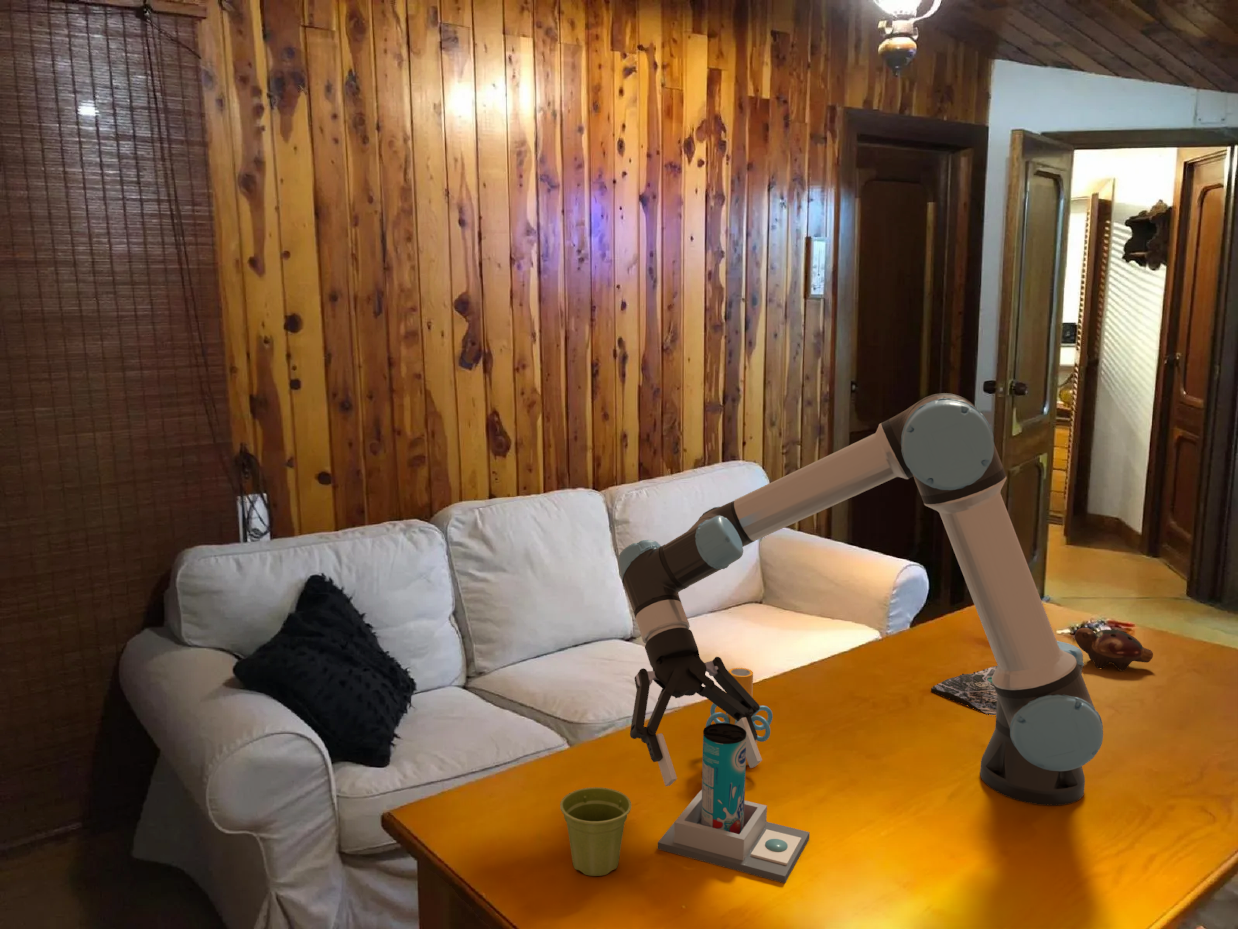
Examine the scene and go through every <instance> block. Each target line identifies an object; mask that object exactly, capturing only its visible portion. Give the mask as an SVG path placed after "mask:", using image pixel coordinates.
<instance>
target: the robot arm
mask: <svg viewBox="0 0 1238 929" xmlns="http://www.w3.org/2000/svg"><path fill="white" fill-rule="evenodd" d="M994 439H995V438H994V434H993V430H992V428H991V426H990V423H989V422H988V420H987V418H986V417H985V415H984V414H983V413H981V411H980V410H979V409H978V408H977V407H976V406H975V405H974V403H972V402H971V401H969V399H967V398H965V397H962V396H960V395H957V394H955V393H954V394H953V393H947V392H946V393H945V392H943V393H935V394H930V395H928V396H926V397H924V398H922V399H920V400H918V401H917V402H916V403H914V404H913V405H911V406H909V407H908V408H907V409H905V410H904V411H901V412H900V413H897V414H896V415H895V416H893V417H891V418H888V419H887V420H885V421H883V422H881V423H879V424H878V427H877V428H876V431H875V433H872V434H870V435H868V436H866V437H864V438H862V439H860V440H858V441H856V442H854V443H851V444H850V445H847V446H845V447H843V448H841V449H839V450H837V451H834V452H833V453H830V454H828V455H827V456H823V457H822V458H819V459H818V460H815V461H813V462H811V463H810V464H807V465H805V466H803V467H801V468H799V469H797V470H794V471H792V472H790V473H788V474H787V475H784V476H782V477H780V478H778V479H776V480H773V481H772V482H769V483H767V484H765V485H763V486H761V487H759V488H757V489H754V490H753V491H750V492H748V493H747V494H745V495H744V494H743V495H742V496H740V497H738V498H735V499H734V500H732V501H730V502H727V503H726V504H722V505H721V506H714V507H712V508H709V509H708V510H707V511H704V512H703V514H702V515H701V516H700V517H699V518H698V520H696V522H695V523H694V524H693V525H692V526H691V527H689V529H688V530H687V531H686V532H684V533H682V534H680V535H679V536H677V537H676V538H674V539H673V540H670V541H669V542H667V543H666V544H663V545H661V544H660V543H659V542H658V541H656V540H652V539H644V540H640V541H639V542H635V543H634V542H633V543H632V544H629V545H627V546H626V547H625V548H624V549H622V551H620V553H619V555H618V558H617V564H618V568H619V571H620V577H621V583H622V585H623V587H624V589H625V593H626V596H627V597H628V600H629V603H630V606H631V609H632V613H633V615H634V619H635V622H636V624H637V628H638V631H639V634H640V638H641V640H642V642H643V643H644V644H645V645H644V649H645V652H646V655H647V658H648V662H649V665H650V667H651V668H652V670H649V671H648V670H647V669H646V668H644V667H643V668H641V669H640V670H639V671H638V672H637V674H636V675H635V676H634V684H635V688H636V694H635V700H634V706H633V712H632V718H631V725H630V730H629V731H630V733H629V736H630V738H631V739H633V740H636V739H640V740H641V742H642V743H643V744H646V747H647V750H648V753H649V757H650V760H651V761H652V762H653V763H658V767H659V770H660V774H661V777H662V780H663V783H664V785H665V787H668V786H669V787H670V786H672V784H673V783H675V781H676V780H677V779H678V777H677V774H676V771H675V768H674V765H673V761H672V758H671V756H670V753H669V749H668V746H667V743H666V740H665V737H664V735H663V733H657V732H658V729H659V726H660V725H661V722H662V719H663V717H664V714H665V712H666V710H667V707H668V705H669V703H670V700H671V697H674V698H675V699H680V698H682V697H683V696H687V697H690V696H695V695H696V694H697V695H699V696H700V697H702V698H706V699H707V700H709V701H710V702H711V703H712V704H713V703H714V704H715V705H717V707H718V708H720V709H721V710H722V711H723V712H725V714H726V713H727V714H729V715H730V716H731V717H733V718H734V719H736V720H737V721H738V722H737V723H736V724H735V725H737V726H740V727H742V728H743V729H744V730H745V731H746V758H747V761H748V764H749V765H748V766H749V768H750V769H752V768H755V767H756V766H757V765H759V764H760V763H761V762H762V761H763V758H762V756H761V754H760V750H759V748H758V744H757V745H756V742H755V740H756V739H757V735H758V732H757V730H755V727H754V724H753V722H752V719H751V717H752V716H753V715H754V714H755V713H756V712H757V711H758V710H759V709H760V706H761V705H760V704H759V703H758V702H757V701H756V700H755V698H753V696H752V697H751V696H750V694H749V693H748V692H747V691H746V690H745V689H744V688H743V687H742V686H741V685H740V684H739V683H738V681H737V680H736V679H735V678H734V677H733V676H732V675H731V674H730V673H729V672H728V671H729V670H728V669H727V668H726V666H725V663H724V662H723V659H722V658H721V657H720V656H715V657H714V658H713V660H709V661H706V662H704V661H703V660H702V659H701V657H700V652H699V647H698V646H697V642H696V640H695V636H694V634H693V631H692V630H691V629H690V627H691V626H690V622H689V620H688V617H687V614H686V612H685V610H684V609H685V608H684V606H683V604H682V600H681V598H680V595H679V592H681V591H683V590H686V589H688V588H689V587H691V586H692V585H694V584H696V583H698V582H700V581H702V580H704V579H705V578H708V577H709V576H712V575H713V574H716V573H717V572H719V571H721V570H725V569H727V568H728V567H729V566H730V565H732V564H733V563H735V562H736V561H738V560H740V559H741V558H742V556H743V554H744V547H746V546H748V545H750V544H752V543H753V542H756V541H758V540H760V539H762V538H764V537H767V536H769V535H771V534H773V533H775V532H778V531H780V530H783V529H784V528H787V527H788V526H791V525H793V524H795V523H798V522H800V521H802V520H804V519H806V518H808V517H812V516H814V515H815V514H818V513H820V512H822V511H824V510H826V509H829V508H831V507H833V506H835V505H837V504H840V503H842V502H845V501H846V500H848V499H850V498H853V497H856V496H858V495H860V494H862V493H864V492H866V491H869V490H871V489H873V488H875V487H877V486H880V485H881V484H884V483H886V482H888V481H892V480H893V479H896V478H902V479H904V480H909V479H910V478H913V479H914V482H915V485H916V486H917V489H918V492H919V494H920V497H921V500H922V501H923V505H924V506H925V507H928V508H930V509H932V510H934V511H936V512H938V513H939V516H940V518H941V520H942V523H943V526H944V529H945V531H946V534H947V537H948V539H949V542H950V544H951V548H952V549H953V553H954V554H955V558H956V560H957V563H958V565H959V567H960V571H961V573H962V575H963V578H964V581H965V584H966V586H967V589H968V592H969V594H970V597H971V599H972V602H973V604H974V606H975V609H976V612H977V616H978V617H979V620H980V624H981V625H982V628H983V630H984V634H985V635H986V638H987V641H988V644H989V646H990V649H991V652H992V654H993V657H994V660H995V662H996V664H997V665H996V666H998V667H997V669H996V670H995V672H994V674H993V676H992V682H993V685H994V688H995V690H996V693H997V696H998V698H997V711H996V717H995V726H994V727H995V728H994V731H993V732H992V735H991V737H990V739H989V742H988V744H987V746H986V748H985V750H984V752H983V754H982V757H981V760H980V771H979V775H980V778H981V780H982V781H983V782H984V783H985V784H986V785H987V786H988V787H989V788H990V789H992V790H994V791H995V792H997V793H999V794H1001V795H1003V796H1005V797H1008V798H1011V799H1014V800H1016V801H1020V802H1022V803H1023V802H1024V803H1028V804H1034V805H1039V806H1040V805H1041V806H1062V805H1063V806H1065V805H1069V804H1074V803H1076V802H1077V801H1079V800H1081V799H1082V798H1083V797H1084V793H1085V785H1086V780H1085V778H1086V777H1085V773H1084V769H1083V766H1084V765H1086V764H1088V763H1089V762H1090V761H1091V760H1093V759H1094V758H1095V756H1096V755H1097V754H1098V752H1099V750H1100V749H1101V747H1102V744H1103V740H1104V725H1103V720H1102V717H1101V715H1100V713H1099V711H1097V710H1096V708H1095V706H1094V703H1093V701H1092V698H1091V695H1090V692H1089V690H1088V687H1087V684H1086V683H1085V680H1084V677H1083V675H1082V673H1083V667H1084V665H1085V662H1084V654H1083V652H1082V651H1083V650H1082V649H1081V648H1080V647H1079V646H1078V647H1077V646H1076V645H1074V644H1071V643H1068V642H1063V641H1060V640H1057V639H1056V635H1055V633H1054V631H1053V627H1052V626H1051V622H1050V620H1049V617H1048V614H1047V612H1046V610H1045V607H1044V604H1043V602H1042V599H1041V597H1040V594H1039V590H1038V588H1037V585H1036V583H1035V580H1034V578H1033V575H1032V572H1031V570H1030V568H1029V564H1028V562H1027V559H1026V557H1025V554H1024V551H1023V549H1022V546H1021V544H1020V541H1019V538H1018V535H1017V534H1016V530H1015V527H1014V525H1013V523H1012V520H1011V518H1010V514H1009V512H1008V510H1007V507H1006V505H1005V502H1004V499H1003V497H1002V496H1003V495H1002V494H1001V490H1002V488H1003V487H1004V485H1005V483H1006V480H1007V479H1008V478H1007V475H1006V472H1005V468H1004V467H1003V464H1002V460H1001V459H1000V458H1001V457H1000V456H999V453H998V450H997V448H996V445H995V442H994ZM706 673H708V675H709V676H707V675H706ZM710 677H713V679H714V680H715V681H714V680H713V679H712V678H710ZM653 682H654V683H656V685H657V686H659V687H660V688H661V691H660V693H659V695H658V698H657V702H656V703H655V706H654V708H653V711H652V713H651V715H650V717H649V721H648V722H647V725H646V726H645V722H646V721H645V720H646V714H647V709H648V708H647V707H648V701H649V695H650V693H649V692H650V687H651V685H652V684H653ZM715 682H716V683H717V684H718V685H719V686H718V685H717V684H715Z"/></svg>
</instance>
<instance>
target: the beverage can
mask: <svg viewBox="0 0 1238 929" xmlns="http://www.w3.org/2000/svg"><path fill="white" fill-rule="evenodd" d="M702 734H703V735H702V768H701V770H702V771H701V773H702V775H701V776H702V777H701V779H702V780H701V790H702V816H701V825H704V826H708V827H712V828H716V829H720V830H724V831H728V832H732V833H736V834H740V833H741V831H742V830H743V828H744V800H745V794H746V793H745V792H746V767H747V766H746V731H745V730H744V729H743V728H742V727H740V726H737V725H734V724H729V723H711V725H709V726H707V727H706V726H705V727H704V729H703V730H702Z"/></svg>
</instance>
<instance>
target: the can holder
mask: <svg viewBox="0 0 1238 929" xmlns="http://www.w3.org/2000/svg"><path fill="white" fill-rule="evenodd" d="M767 813H768V805H766V804H761V803H756V802H753V801H749V800H745V799H744V828H743V830H742V831H741V833H740V834H736V833H732V832H728V831H724V830H720V829H716V828H712V827H708V826H704V825H701V816H702V789H700V791H699V792H698V793H697V794H696V795H695V797H694V798H692V800H691V802H690V803H689V804H688V805H687V806H686V807H685V809H684V810H683V811H682V813H681V814H680V815H679V816H678V817H677V818H676V819H675V820H674V821H673V823H672V825H671V826H670V827H669V828H668V829H667V831H666V832H665V833H664V834H663V835H662V836H661V838H660V839H659V840H658V842H657V850H659V851H663V852H668V853H671V854H673V855H679V856H682V857H686V858H690V859H692V860H697V861H701V862H704V863H708V864H711V865H716V866H719V867H723V868H725V869H726V868H727V869H731V870H734V871H736V872H737V871H739V872H740V873H741V872H742V873H745V874H748V875H752V876H757V877H759V878H760V877H761V878H764V879H767V880H770V881H776V882H778V883H783V884H786V883H787V880H788V878H789V876H790V875H791V873H792V871H793V869H794V867H795V865H796V864H797V862H798V860H799V858H800V856H801V855H802V853H803V852H804V849H805V847H806V846H807V844H808V842H809V840H810V832H809V831H806V830H802V829H798V828H794V827H789V826H785V825H782V824H777V823H773V822H770V821H767Z"/></svg>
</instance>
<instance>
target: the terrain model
mask: <svg viewBox="0 0 1238 929" xmlns="http://www.w3.org/2000/svg"><path fill="white" fill-rule="evenodd" d="M997 667H998V665H995V666H994V665H993V666H991V667H987V668H984V669H982V670H980V671H979V670H977V671H973V673H962V674H960V675H958V676H954V677H951V678H947V679H945V680H942V681H941V682H940V683H937V684H936V685H933V686H932V687H931V689H930V692H931V691H932V693H933V692H934V693H933V694H936V695H938V696H941V695H942V696H941V697H943V696H944V697H943V698H946V699H948V698H950V699H949V700H951V699H952V700H951V701H953V700H954V701H953V702H955V701H956V702H955V703H958V702H960V703H962V704H961V705H963V706H965V705H968V706H969V707H968V708H970V709H972V708H974V709H976V710H975V711H977V710H978V711H977V712H979V711H980V713H981V712H983V713H982V714H984V713H985V714H984V715H986V714H990V715H996V711H997V698H998V696H997V693H996V690H995V688H994V685H993V682H992V676H993V674H994V672H995V670H996V669H997ZM960 703H959V704H960ZM974 709H973V710H974Z"/></svg>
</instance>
